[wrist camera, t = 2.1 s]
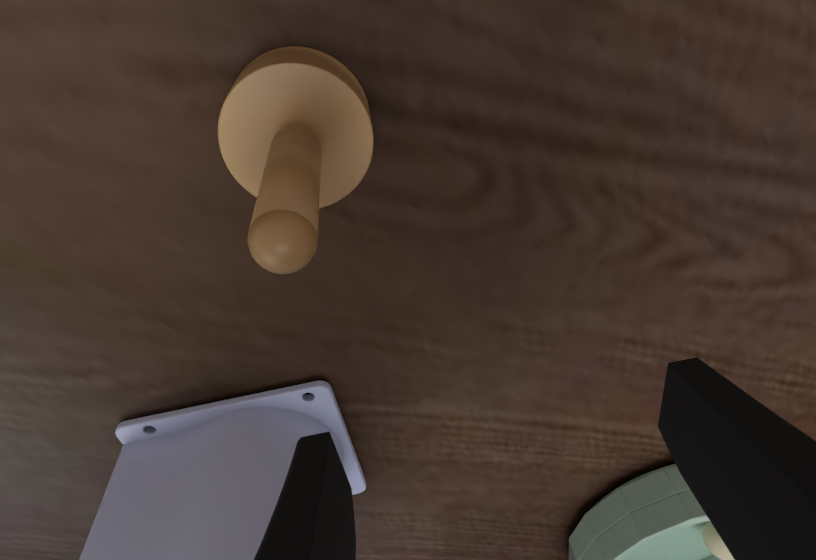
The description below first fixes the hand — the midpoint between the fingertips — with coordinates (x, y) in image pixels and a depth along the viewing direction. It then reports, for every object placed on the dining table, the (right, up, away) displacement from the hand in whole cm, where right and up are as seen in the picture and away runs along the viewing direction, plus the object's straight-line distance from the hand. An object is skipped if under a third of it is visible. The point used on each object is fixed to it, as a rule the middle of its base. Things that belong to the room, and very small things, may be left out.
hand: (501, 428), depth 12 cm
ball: (+17, -12, +21) cm, 30 cm away
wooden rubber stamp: (-5, +8, +6) cm, 11 cm away
